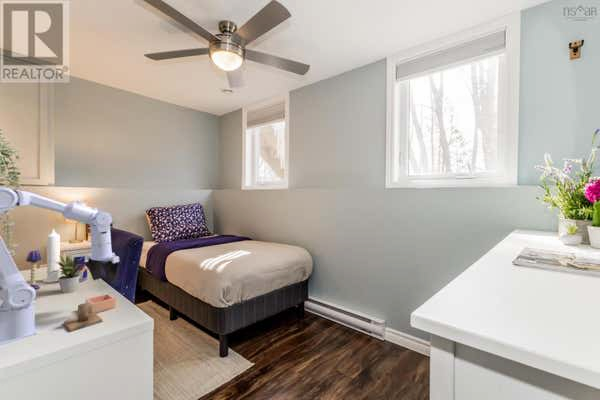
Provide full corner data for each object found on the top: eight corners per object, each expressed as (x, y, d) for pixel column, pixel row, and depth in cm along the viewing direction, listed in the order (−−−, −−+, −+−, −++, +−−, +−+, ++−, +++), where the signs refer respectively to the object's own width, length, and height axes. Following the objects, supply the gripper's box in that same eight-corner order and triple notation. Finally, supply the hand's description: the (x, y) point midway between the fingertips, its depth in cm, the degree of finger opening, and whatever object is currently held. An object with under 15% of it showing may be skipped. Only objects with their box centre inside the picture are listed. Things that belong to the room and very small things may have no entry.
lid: (70, 331, 80) (70, 312, 80) (63, 323, 84) (63, 305, 84) (102, 321, 86) (102, 304, 86) (94, 314, 91) (94, 298, 91)
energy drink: (79, 282, 124) (79, 257, 124) (70, 281, 125) (70, 256, 125) (90, 278, 129) (90, 254, 129) (81, 278, 130) (81, 254, 130)
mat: (69, 333, 79) (69, 332, 79) (62, 324, 84) (62, 323, 84) (103, 322, 86) (103, 321, 86) (94, 315, 91) (94, 314, 91)
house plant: (34, 295, 108) (33, 255, 108) (70, 284, 121) (70, 249, 121) (60, 298, 105) (60, 258, 104) (94, 287, 118) (94, 251, 118)
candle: (47, 279, 128) (47, 228, 127) (65, 277, 131) (65, 227, 130) (40, 283, 121) (40, 230, 121) (60, 281, 124) (60, 229, 124)
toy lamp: (40, 286, 118) (40, 249, 117) (42, 289, 115) (42, 251, 114) (25, 289, 114) (25, 251, 114) (26, 292, 111) (26, 253, 111)
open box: (91, 315, 91) (91, 304, 91) (85, 310, 95) (85, 299, 95) (115, 308, 96) (115, 298, 96) (108, 303, 101) (108, 293, 101)
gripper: (126, 242, 96) (128, 278, 97) (99, 240, 101) (101, 274, 102) (106, 247, 89) (109, 285, 90) (78, 244, 94) (81, 281, 95)
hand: (104, 280), depth 96 cm, fingers open, 7 cm apart
